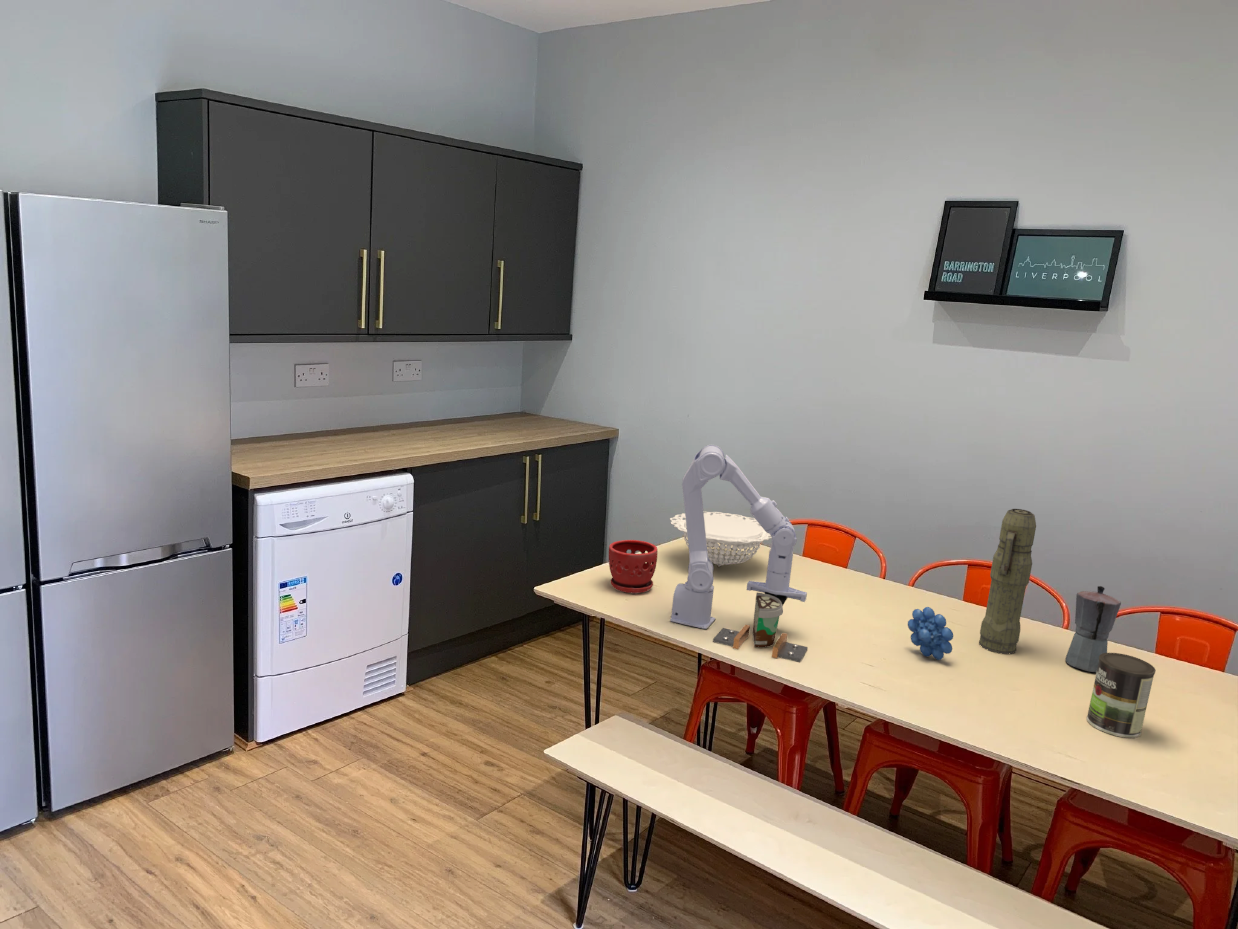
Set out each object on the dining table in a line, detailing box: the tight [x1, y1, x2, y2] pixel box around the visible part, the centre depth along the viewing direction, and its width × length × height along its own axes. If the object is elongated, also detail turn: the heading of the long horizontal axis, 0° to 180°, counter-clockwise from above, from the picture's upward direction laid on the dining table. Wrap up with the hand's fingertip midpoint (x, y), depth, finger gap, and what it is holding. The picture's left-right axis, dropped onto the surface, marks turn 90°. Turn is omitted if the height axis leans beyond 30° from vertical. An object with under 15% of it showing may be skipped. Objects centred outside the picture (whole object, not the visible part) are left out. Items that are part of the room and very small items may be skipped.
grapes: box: [907, 606, 954, 661], centre depth 217 cm, size 12×7×12 cm, turn 45°
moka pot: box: [1064, 585, 1122, 673], centre depth 219 cm, size 10×15×20 cm, turn 161°
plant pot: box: [608, 539, 659, 595], centre depth 248 cm, size 13×13×12 cm
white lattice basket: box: [669, 510, 772, 567], centre depth 273 cm, size 32×32×13 cm
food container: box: [751, 591, 784, 649], centre depth 219 cm, size 12×6×10 cm, turn 175°
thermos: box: [978, 508, 1037, 655], centre depth 225 cm, size 9×12×35 cm
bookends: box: [712, 624, 809, 663], centre depth 217 cm, size 21×10×2 cm, turn 67°
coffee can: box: [1086, 652, 1156, 739], centre depth 189 cm, size 10×10×14 cm
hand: (772, 622), depth 227 cm, fingers closed
